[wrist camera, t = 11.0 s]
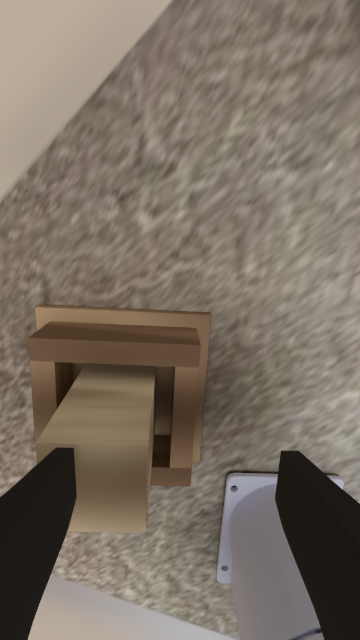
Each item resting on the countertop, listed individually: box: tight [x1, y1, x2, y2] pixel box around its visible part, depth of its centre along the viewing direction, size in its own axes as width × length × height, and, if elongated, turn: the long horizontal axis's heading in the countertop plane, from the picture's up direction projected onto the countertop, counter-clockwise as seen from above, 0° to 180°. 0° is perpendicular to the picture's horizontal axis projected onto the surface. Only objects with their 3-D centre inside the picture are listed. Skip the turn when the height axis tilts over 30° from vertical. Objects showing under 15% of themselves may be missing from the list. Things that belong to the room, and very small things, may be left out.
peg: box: [35, 363, 157, 533], centre depth 16 cm, size 4×4×8 cm
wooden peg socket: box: [28, 305, 211, 486], centre depth 19 cm, size 10×10×4 cm
